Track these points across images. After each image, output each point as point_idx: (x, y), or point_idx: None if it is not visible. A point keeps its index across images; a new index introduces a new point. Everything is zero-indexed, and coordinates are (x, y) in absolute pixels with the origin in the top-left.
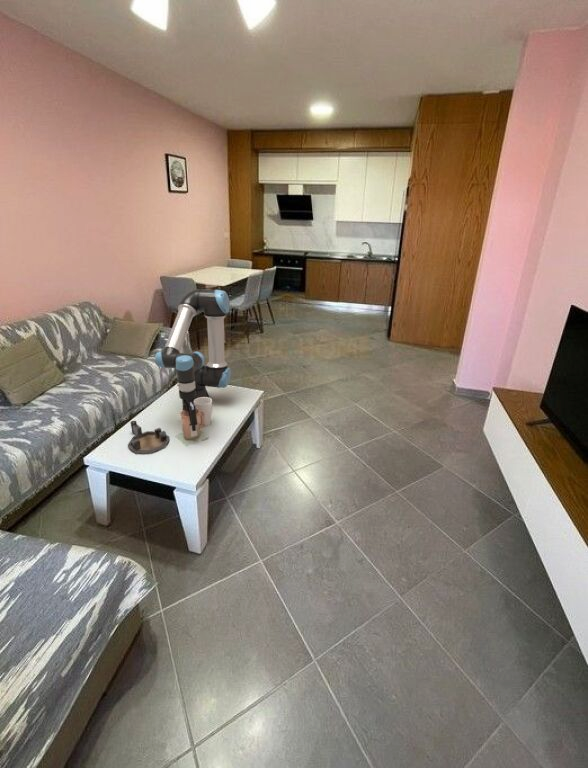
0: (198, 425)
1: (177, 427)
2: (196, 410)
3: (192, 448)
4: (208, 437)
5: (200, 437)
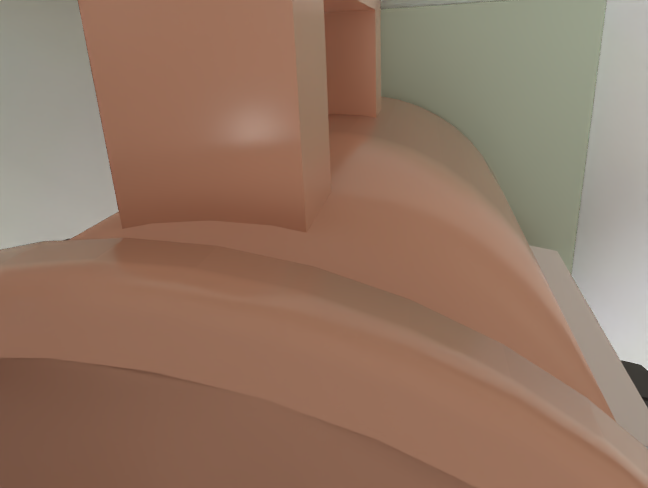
0: (518, 230)
1: (6, 234)
2: (110, 458)
3: (641, 351)
4: (605, 7)
5: (490, 131)
